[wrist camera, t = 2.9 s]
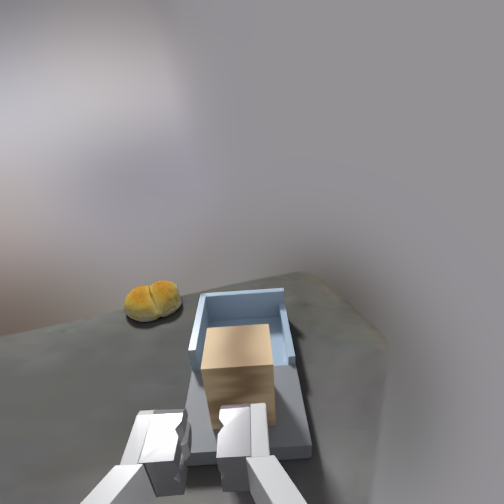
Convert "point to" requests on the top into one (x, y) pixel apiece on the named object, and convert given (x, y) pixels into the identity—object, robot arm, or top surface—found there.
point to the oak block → (238, 369)
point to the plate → (280, 435)
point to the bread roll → (152, 301)
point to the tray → (243, 320)
